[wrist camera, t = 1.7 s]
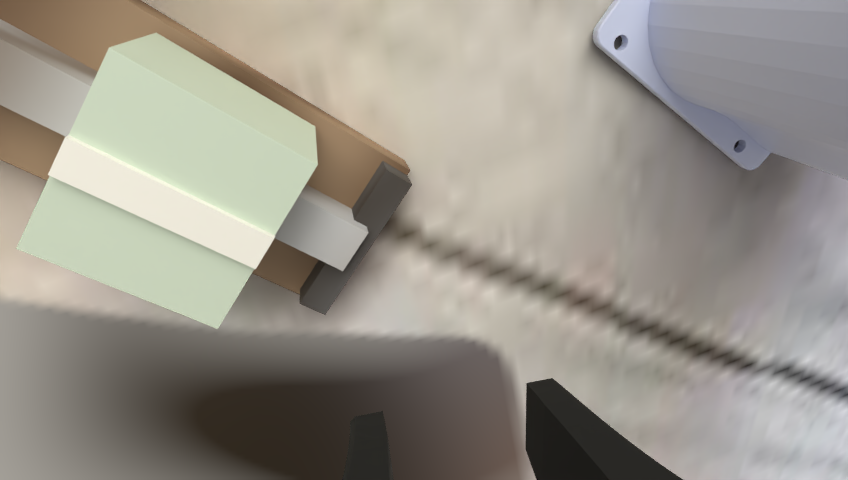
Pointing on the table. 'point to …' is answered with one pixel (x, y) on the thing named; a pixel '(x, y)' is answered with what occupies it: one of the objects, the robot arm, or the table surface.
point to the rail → (131, 18)
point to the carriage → (171, 181)
